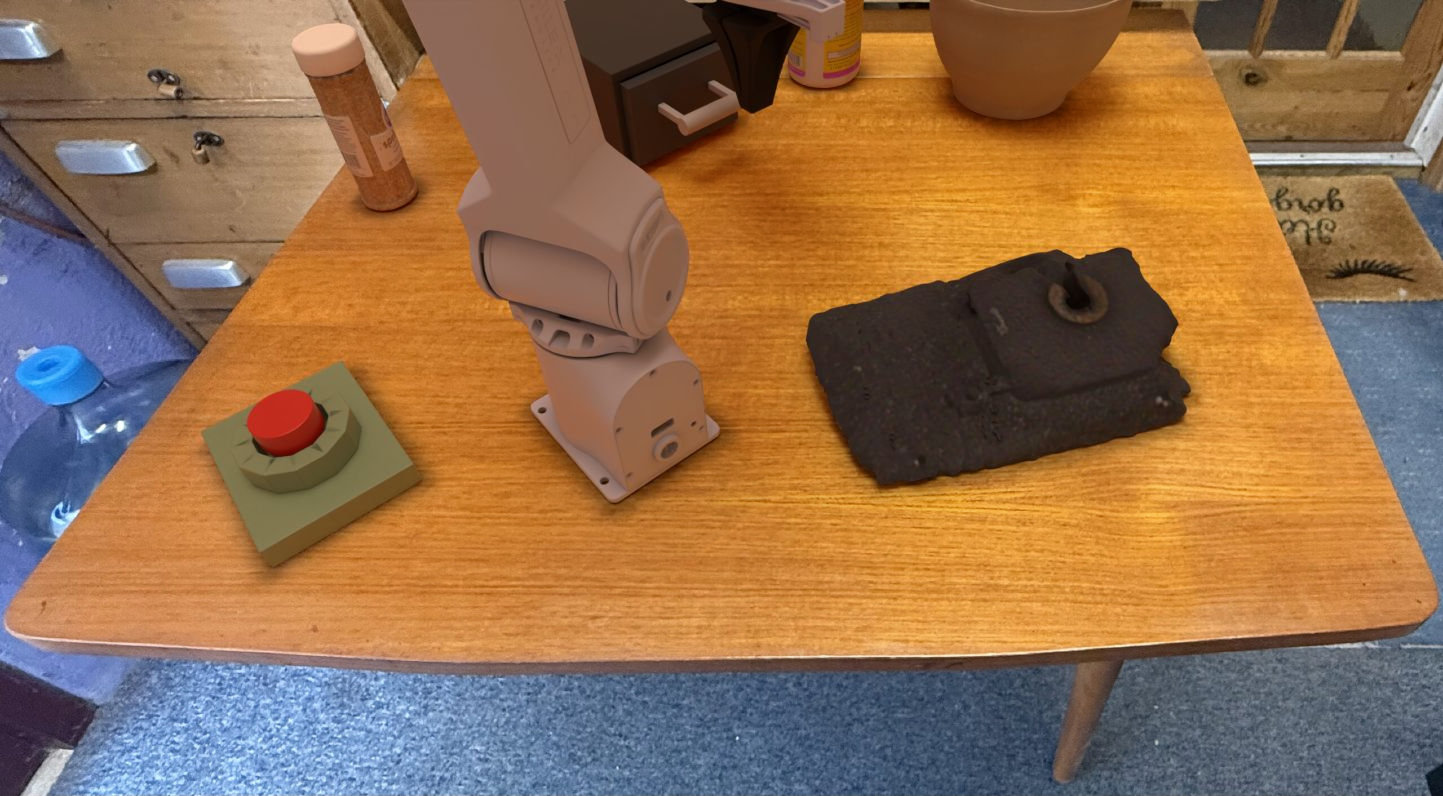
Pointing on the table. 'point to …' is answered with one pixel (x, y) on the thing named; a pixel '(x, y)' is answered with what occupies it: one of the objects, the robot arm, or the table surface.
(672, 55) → the cabinet
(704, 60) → the drawer
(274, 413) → the button
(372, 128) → the sprinkles bottle
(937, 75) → the table surface
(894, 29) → the table surface
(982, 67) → the planter bowl
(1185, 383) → the black stepped slab
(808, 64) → the supplement bottle
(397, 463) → the control block
